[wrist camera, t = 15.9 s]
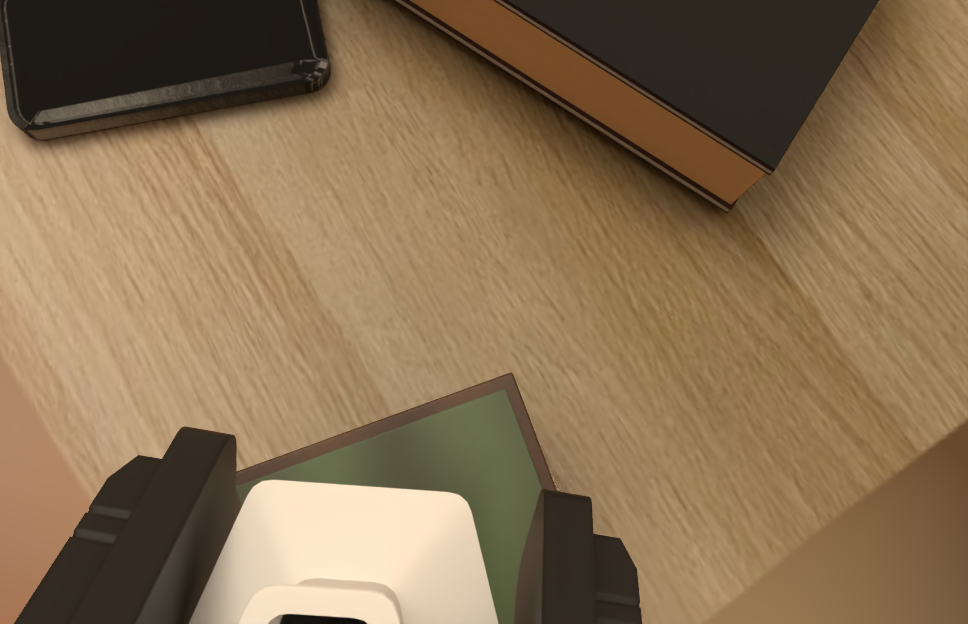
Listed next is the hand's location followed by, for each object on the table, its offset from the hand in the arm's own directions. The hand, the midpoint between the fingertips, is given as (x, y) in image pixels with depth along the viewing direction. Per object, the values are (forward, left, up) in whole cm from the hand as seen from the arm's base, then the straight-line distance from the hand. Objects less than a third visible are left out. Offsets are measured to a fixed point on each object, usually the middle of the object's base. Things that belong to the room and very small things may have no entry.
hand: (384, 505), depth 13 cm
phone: (-4, +24, -26) cm, 36 cm away
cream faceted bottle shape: (-1, -2, -11) cm, 11 cm away
